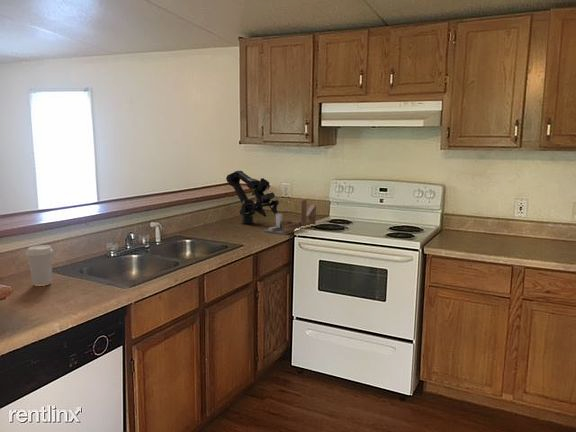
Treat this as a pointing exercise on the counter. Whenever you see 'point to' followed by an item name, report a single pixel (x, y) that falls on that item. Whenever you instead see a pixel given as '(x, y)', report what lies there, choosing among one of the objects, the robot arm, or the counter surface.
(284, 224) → the walls
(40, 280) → the coffee cup
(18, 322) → the counter surface
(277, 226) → the bracket
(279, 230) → the mat
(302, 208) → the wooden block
